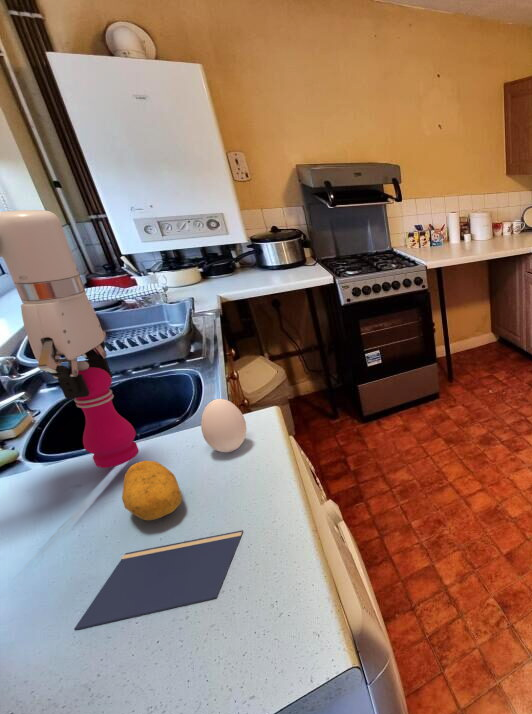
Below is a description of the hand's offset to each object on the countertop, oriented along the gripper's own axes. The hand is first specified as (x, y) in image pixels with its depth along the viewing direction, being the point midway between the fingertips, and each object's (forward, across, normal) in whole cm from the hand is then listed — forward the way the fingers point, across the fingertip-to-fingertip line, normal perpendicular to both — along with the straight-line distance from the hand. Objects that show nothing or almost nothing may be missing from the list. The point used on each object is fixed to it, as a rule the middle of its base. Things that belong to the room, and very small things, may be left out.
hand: (90, 387), depth 77 cm
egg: (+18, -2, +18) cm, 26 cm away
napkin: (+19, +28, +19) cm, 39 cm away
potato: (+19, +12, +11) cm, 25 cm away
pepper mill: (+15, 0, 0) cm, 15 cm away
